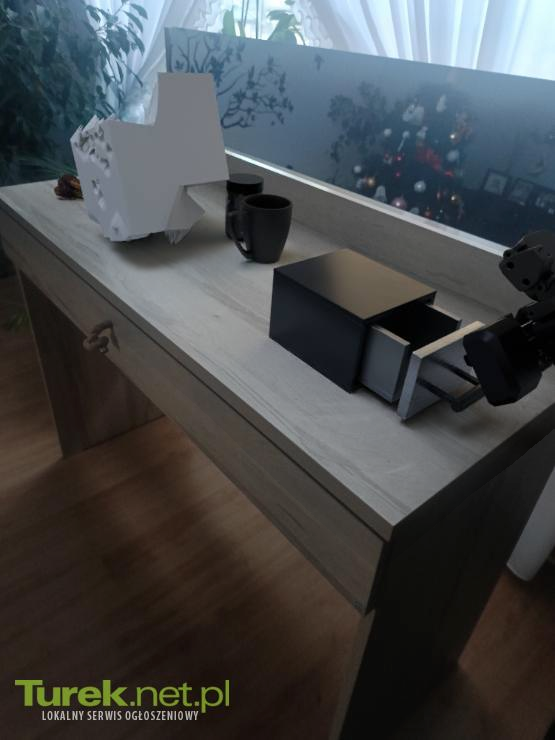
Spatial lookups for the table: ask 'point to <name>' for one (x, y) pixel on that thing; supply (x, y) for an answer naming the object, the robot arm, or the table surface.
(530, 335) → the robot arm
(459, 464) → the table surface
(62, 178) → the brown lumpy mound
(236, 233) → the supplement container
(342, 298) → the cabinet
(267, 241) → the mug
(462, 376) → the drawer
